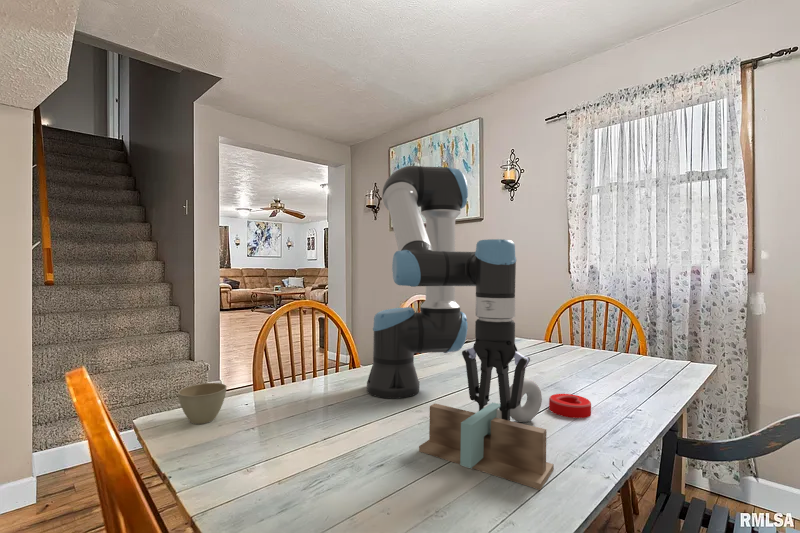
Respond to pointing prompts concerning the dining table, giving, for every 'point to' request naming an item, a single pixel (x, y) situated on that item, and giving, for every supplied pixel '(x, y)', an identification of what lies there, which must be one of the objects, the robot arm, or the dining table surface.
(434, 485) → the dining table surface
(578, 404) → the decorative ornament
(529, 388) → the donut
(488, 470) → the jig
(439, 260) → the robot arm
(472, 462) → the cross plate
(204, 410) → the olive beige bowl
